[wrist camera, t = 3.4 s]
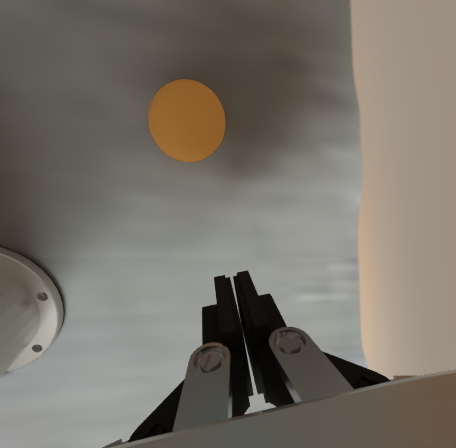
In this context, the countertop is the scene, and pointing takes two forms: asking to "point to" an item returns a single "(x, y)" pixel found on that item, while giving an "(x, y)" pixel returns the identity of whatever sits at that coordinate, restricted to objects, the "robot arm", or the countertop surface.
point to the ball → (186, 120)
